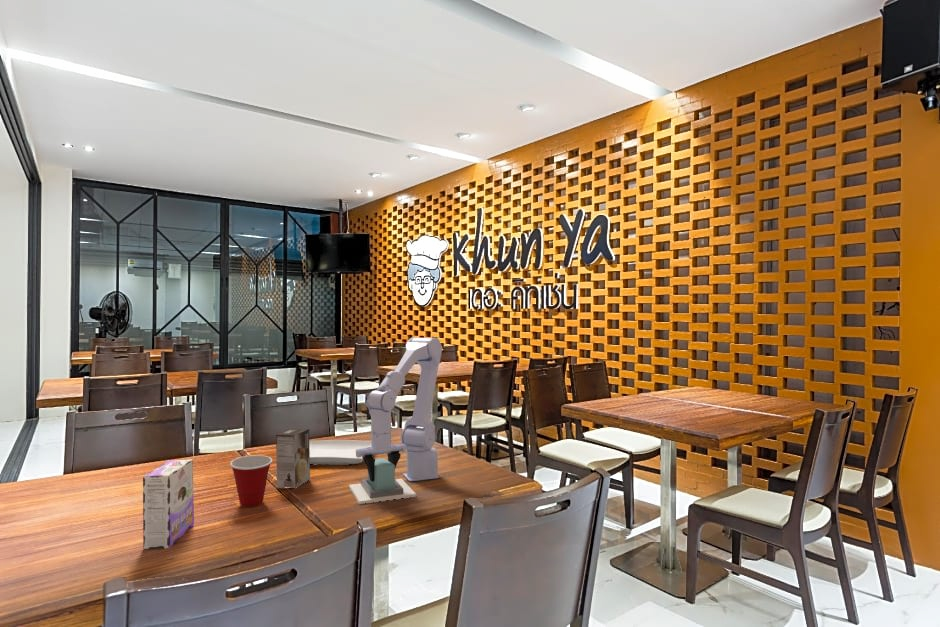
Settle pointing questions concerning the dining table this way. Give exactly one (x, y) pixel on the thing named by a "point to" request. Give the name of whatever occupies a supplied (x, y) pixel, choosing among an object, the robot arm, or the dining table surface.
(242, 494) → the plastic cup
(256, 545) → the dining table surface
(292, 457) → the coffee box
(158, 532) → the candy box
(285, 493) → the dining table surface
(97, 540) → the dining table surface
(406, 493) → the socket board
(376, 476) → the teal block
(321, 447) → the square plate
